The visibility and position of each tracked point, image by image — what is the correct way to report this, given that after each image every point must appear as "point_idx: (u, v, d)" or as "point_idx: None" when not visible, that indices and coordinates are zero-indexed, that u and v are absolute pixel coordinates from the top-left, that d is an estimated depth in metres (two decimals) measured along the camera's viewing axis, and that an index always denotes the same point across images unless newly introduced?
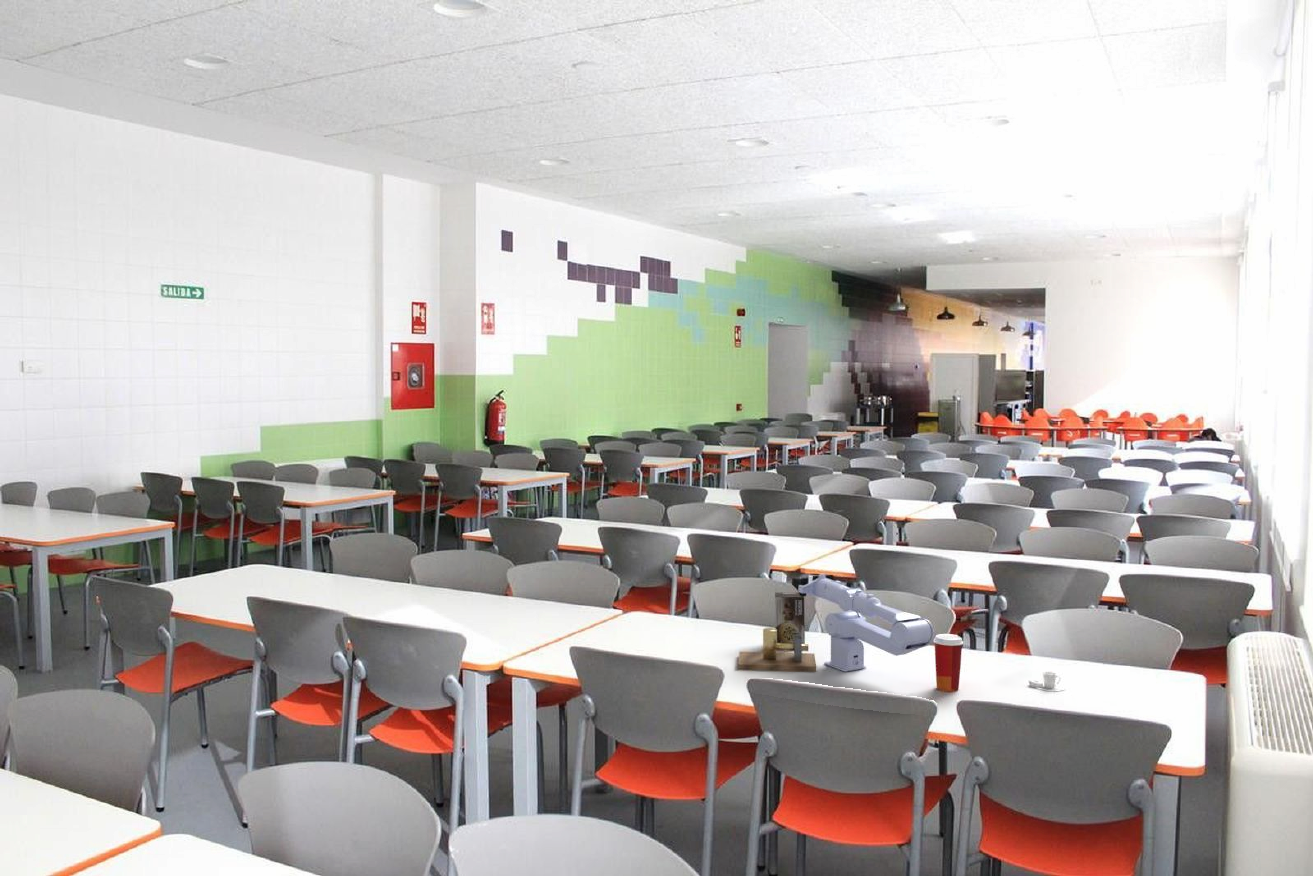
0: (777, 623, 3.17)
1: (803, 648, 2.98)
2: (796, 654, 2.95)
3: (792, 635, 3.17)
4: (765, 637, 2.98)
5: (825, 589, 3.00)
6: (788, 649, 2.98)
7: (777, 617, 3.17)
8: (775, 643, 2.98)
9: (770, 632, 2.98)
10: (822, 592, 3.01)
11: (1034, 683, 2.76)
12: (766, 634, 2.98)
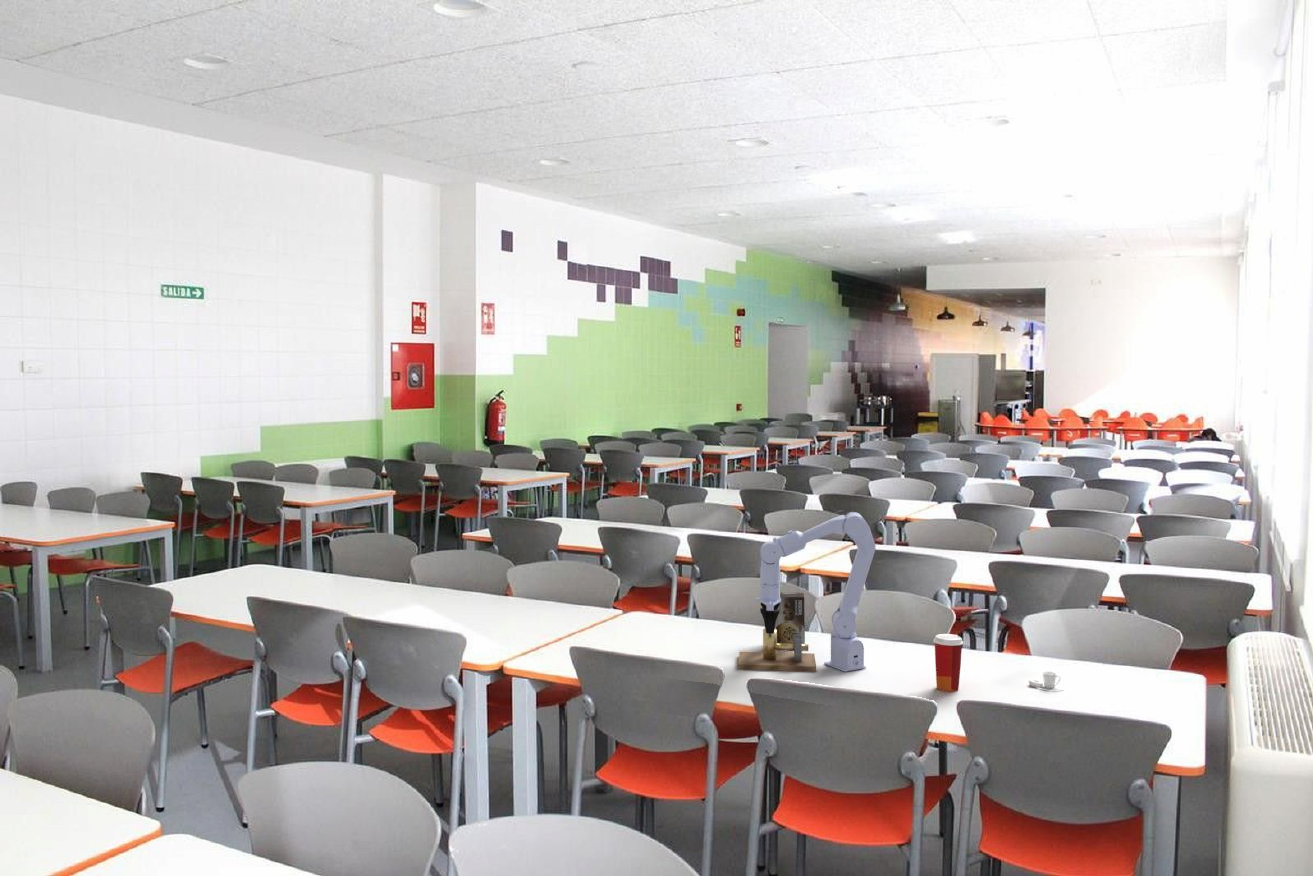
0: (777, 623, 3.17)
1: (803, 648, 2.98)
2: (796, 654, 2.95)
3: (792, 635, 3.17)
4: (765, 637, 2.98)
5: (766, 583, 2.96)
6: (788, 649, 2.98)
7: (777, 617, 3.17)
8: (775, 643, 2.98)
9: None
10: (770, 587, 2.96)
11: (1034, 683, 2.77)
12: (766, 634, 2.98)
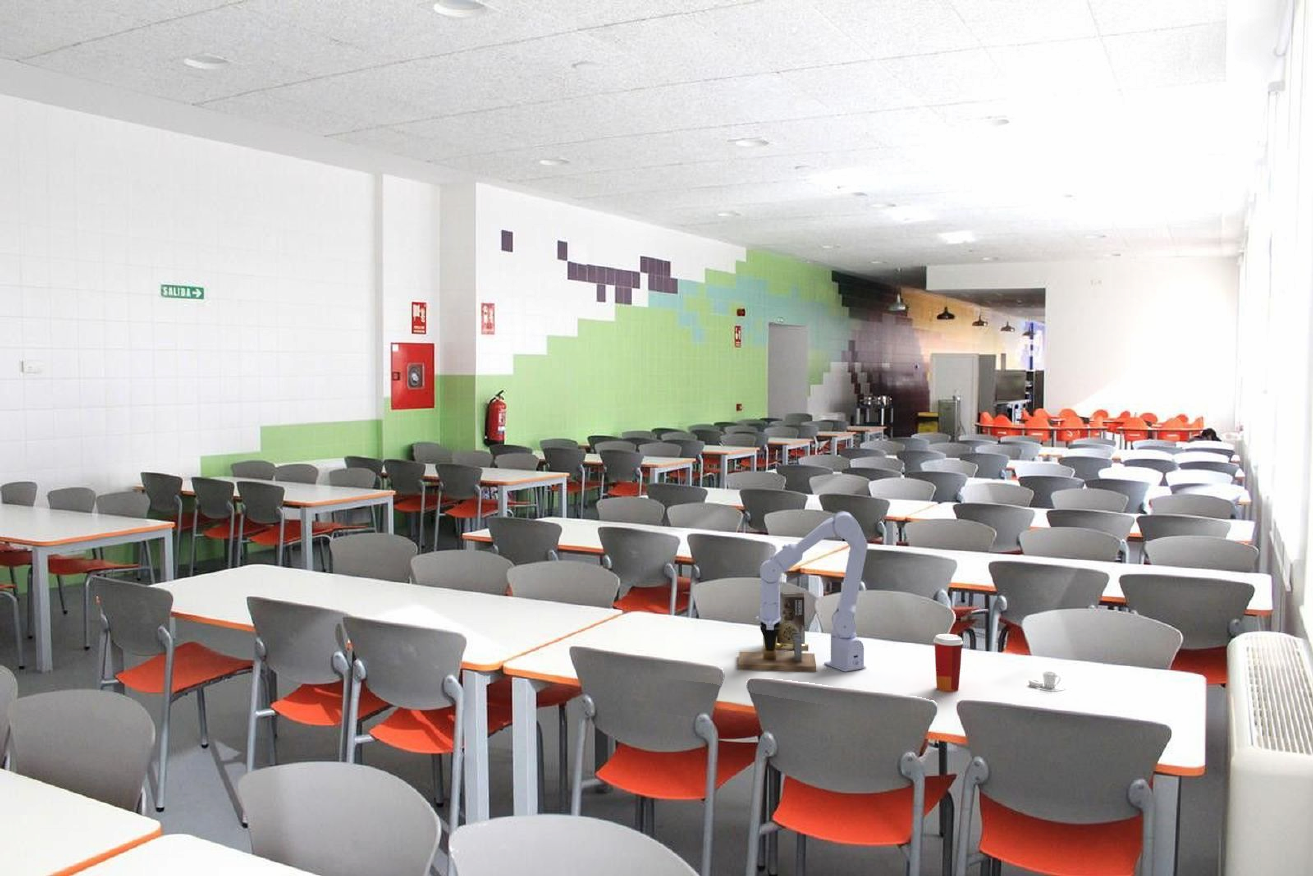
0: None
1: (803, 648, 2.98)
2: (796, 654, 2.95)
3: (792, 635, 3.17)
4: None
5: (766, 602, 2.96)
6: (788, 649, 2.98)
7: None
8: (775, 643, 2.98)
9: None
10: (770, 606, 2.96)
11: (1034, 683, 2.77)
12: None
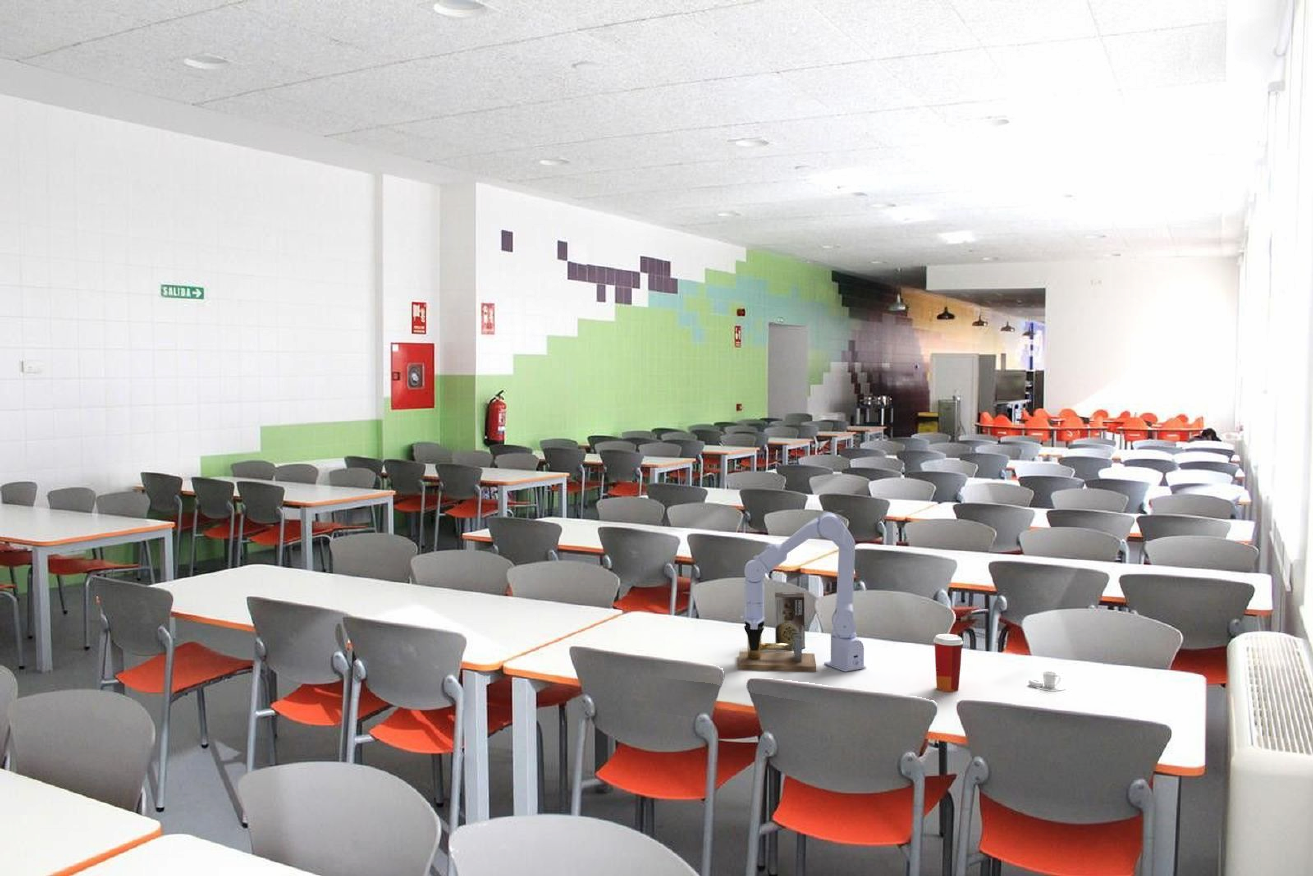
0: (777, 623, 3.17)
1: (787, 648, 2.98)
2: (796, 654, 2.95)
3: (792, 635, 3.17)
4: None
5: (750, 602, 2.97)
6: (772, 649, 2.99)
7: (777, 617, 3.17)
8: (759, 642, 2.99)
9: None
10: (754, 606, 2.97)
11: (1034, 683, 2.77)
12: None
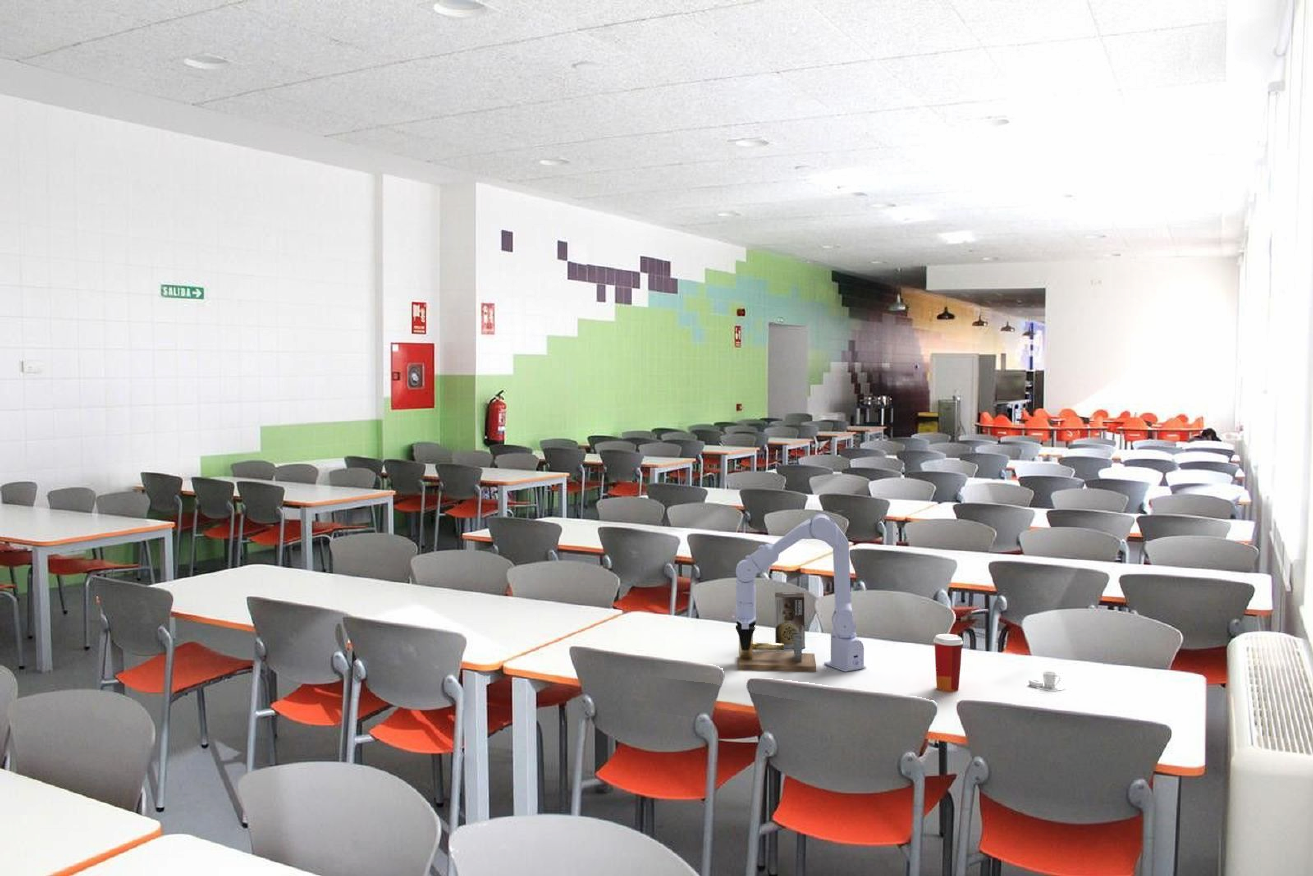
0: (777, 623, 3.17)
1: (779, 647, 2.98)
2: (796, 654, 2.95)
3: (792, 635, 3.17)
4: None
5: (742, 602, 2.97)
6: (764, 648, 2.99)
7: (777, 617, 3.17)
8: (751, 642, 2.99)
9: None
10: (745, 606, 2.97)
11: (1034, 683, 2.77)
12: None
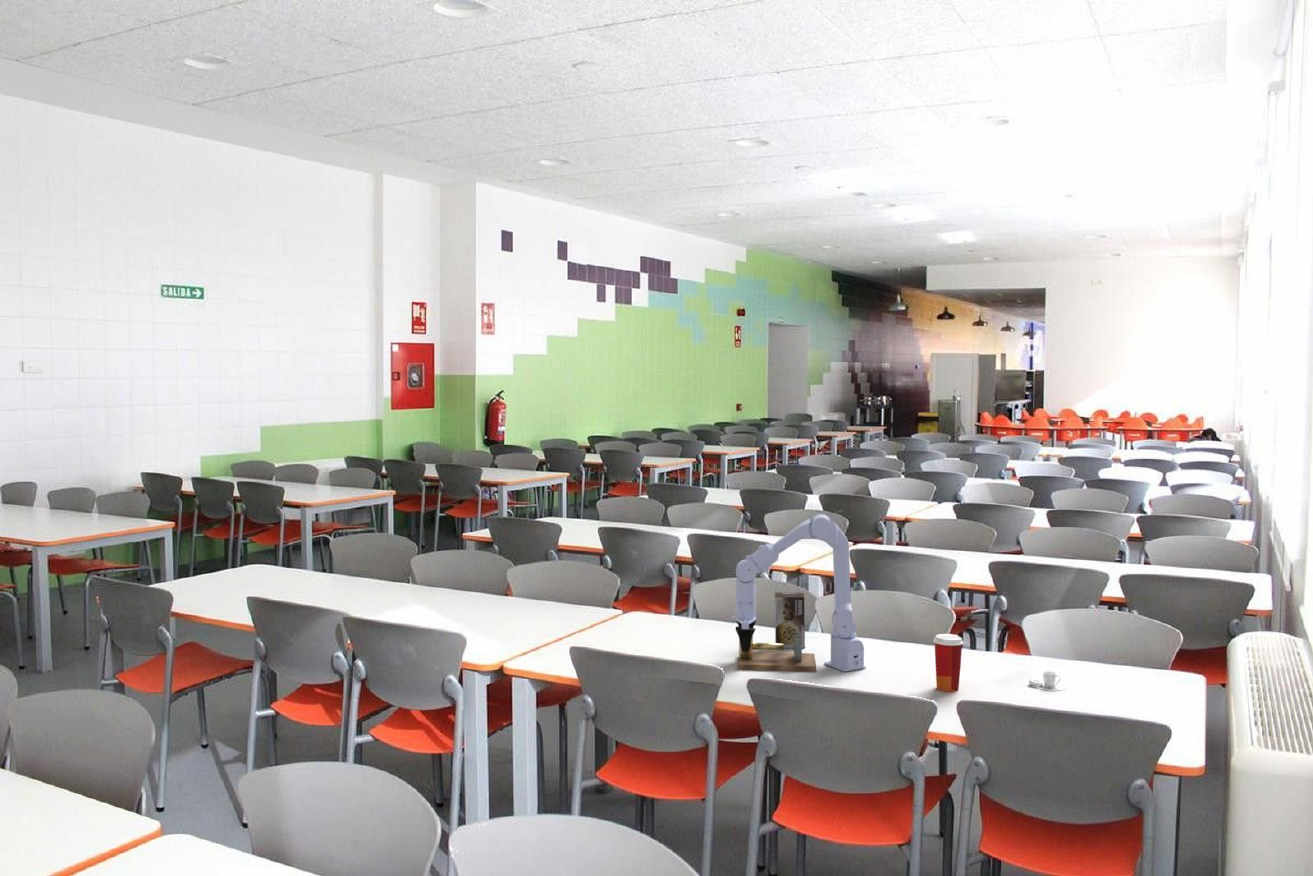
0: (777, 623, 3.17)
1: (779, 647, 2.98)
2: (796, 654, 2.95)
3: (792, 635, 3.17)
4: None
5: (742, 602, 2.97)
6: (764, 648, 2.99)
7: (777, 617, 3.17)
8: (751, 642, 2.99)
9: None
10: (745, 606, 2.97)
11: (1034, 683, 2.77)
12: None
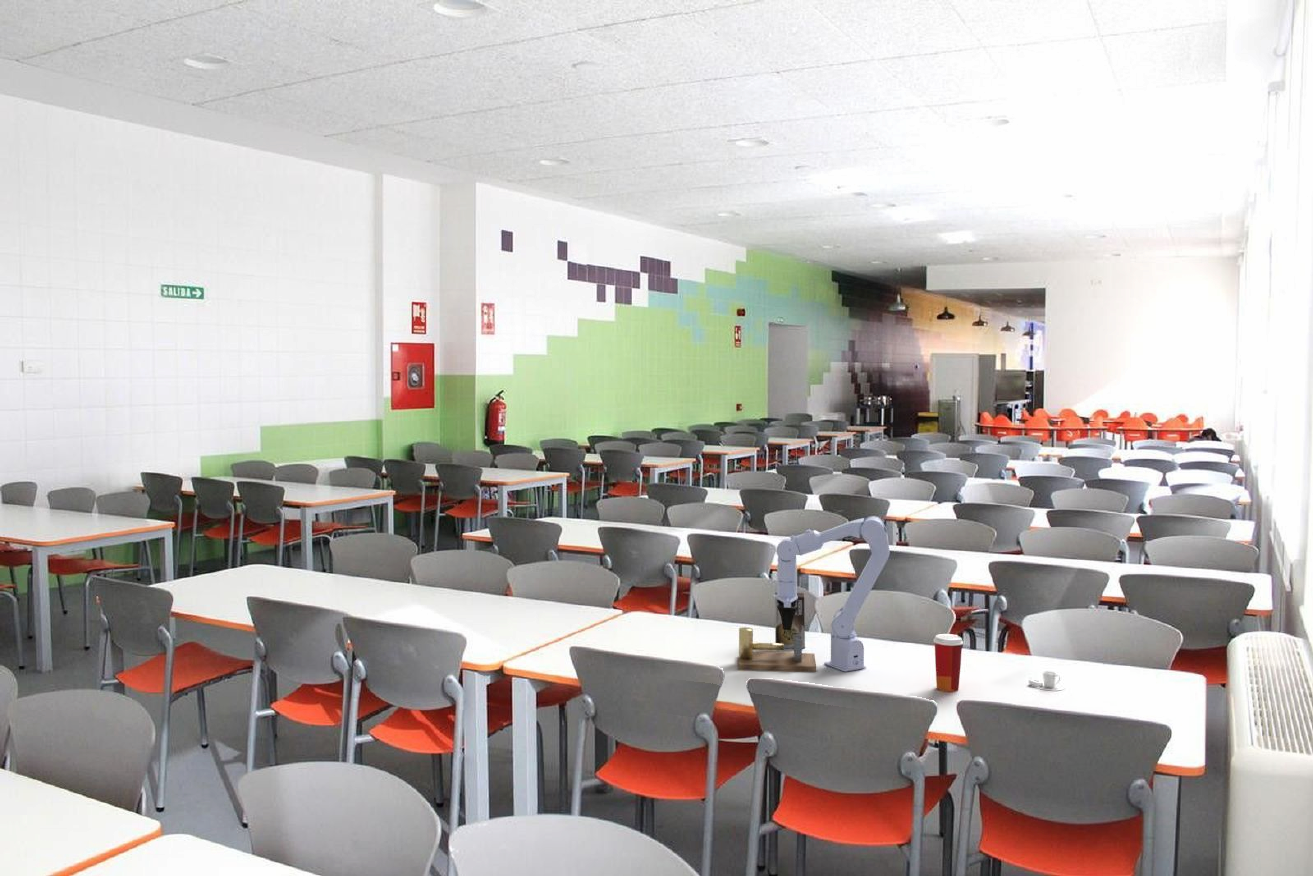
0: (777, 623, 3.17)
1: (779, 647, 2.98)
2: (796, 654, 2.95)
3: (792, 635, 3.17)
4: (741, 636, 2.99)
5: (782, 580, 2.98)
6: (764, 648, 2.99)
7: (777, 617, 3.17)
8: (751, 642, 2.99)
9: (746, 631, 2.98)
10: (787, 584, 2.97)
11: (1034, 682, 2.77)
12: (742, 634, 2.99)
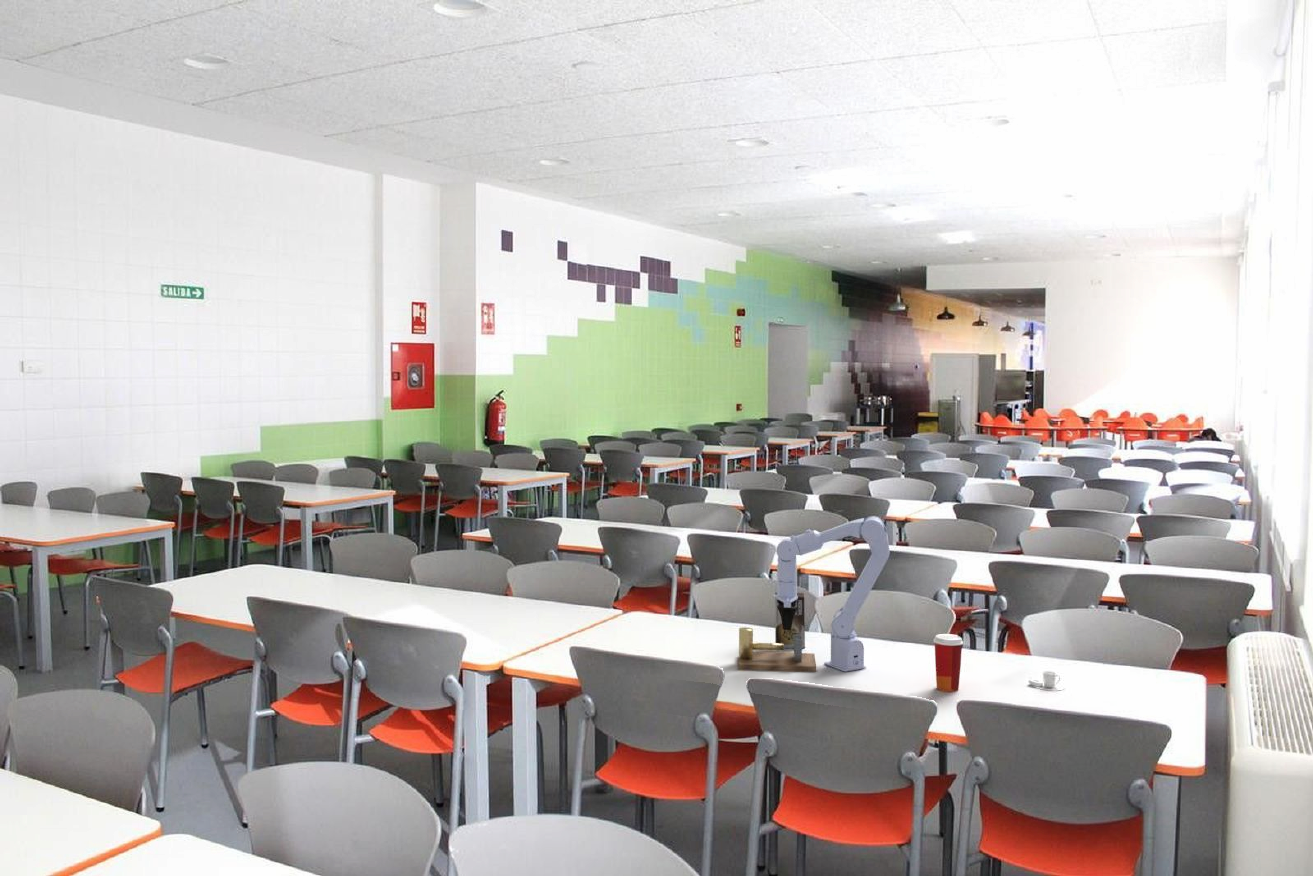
0: (777, 623, 3.17)
1: (779, 647, 2.98)
2: (796, 654, 2.95)
3: (792, 635, 3.17)
4: (741, 636, 2.99)
5: (782, 580, 2.98)
6: (764, 648, 2.99)
7: (777, 617, 3.17)
8: (751, 642, 2.99)
9: (746, 631, 2.98)
10: (787, 584, 2.97)
11: (1034, 682, 2.77)
12: (742, 634, 2.99)
